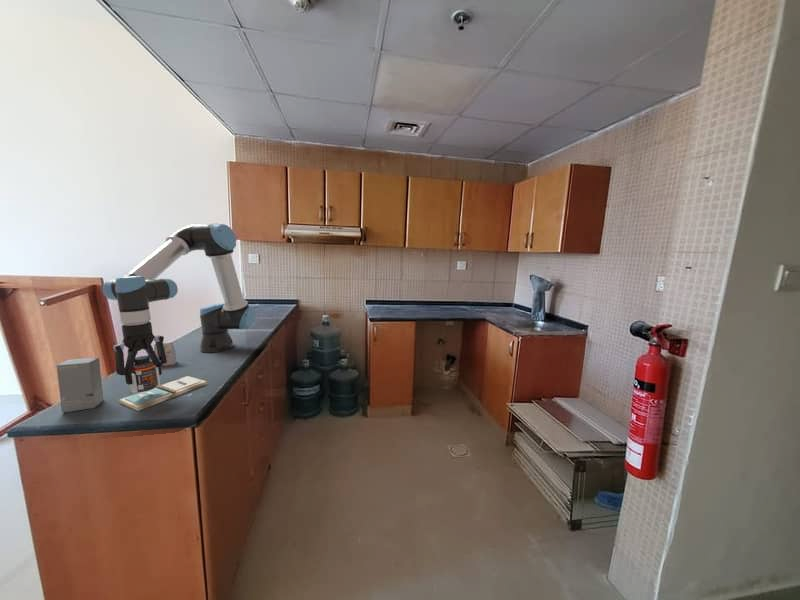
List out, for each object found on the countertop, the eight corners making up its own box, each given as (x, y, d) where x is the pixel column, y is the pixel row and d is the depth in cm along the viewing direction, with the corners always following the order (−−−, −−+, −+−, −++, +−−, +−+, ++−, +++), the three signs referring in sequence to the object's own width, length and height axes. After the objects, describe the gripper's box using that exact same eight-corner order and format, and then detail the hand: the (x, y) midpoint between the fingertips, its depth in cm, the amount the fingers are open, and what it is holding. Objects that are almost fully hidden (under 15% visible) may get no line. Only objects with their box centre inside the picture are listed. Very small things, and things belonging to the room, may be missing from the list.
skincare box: (61, 413, 97) (52, 366, 94) (74, 403, 103) (65, 359, 101) (96, 408, 100) (88, 362, 98) (106, 398, 107) (99, 355, 104)
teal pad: (155, 388, 112) (155, 387, 111) (169, 393, 108) (169, 392, 107) (125, 399, 104) (124, 397, 104) (138, 405, 100) (138, 403, 100)
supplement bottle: (144, 393, 102) (139, 361, 100) (130, 392, 103) (125, 360, 101) (161, 385, 107) (157, 355, 106) (147, 384, 109) (143, 354, 107)
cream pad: (187, 377, 121) (187, 376, 121) (201, 381, 117) (201, 380, 117) (161, 386, 113) (161, 385, 113) (175, 391, 109) (175, 389, 109)
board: (188, 378, 123) (187, 374, 123) (206, 384, 118) (206, 379, 117) (119, 402, 104) (118, 398, 103) (137, 410, 98) (137, 405, 98)
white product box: (159, 363, 140) (156, 342, 138) (176, 362, 142) (173, 341, 140) (155, 366, 136) (152, 345, 135) (173, 365, 138) (170, 343, 136)
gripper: (162, 316, 111) (170, 376, 115) (93, 328, 95) (105, 397, 98) (174, 318, 108) (182, 379, 112) (104, 330, 91) (116, 402, 95)
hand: (146, 388), depth 105 cm, fingers closed on supplement bottle, 6 cm apart
